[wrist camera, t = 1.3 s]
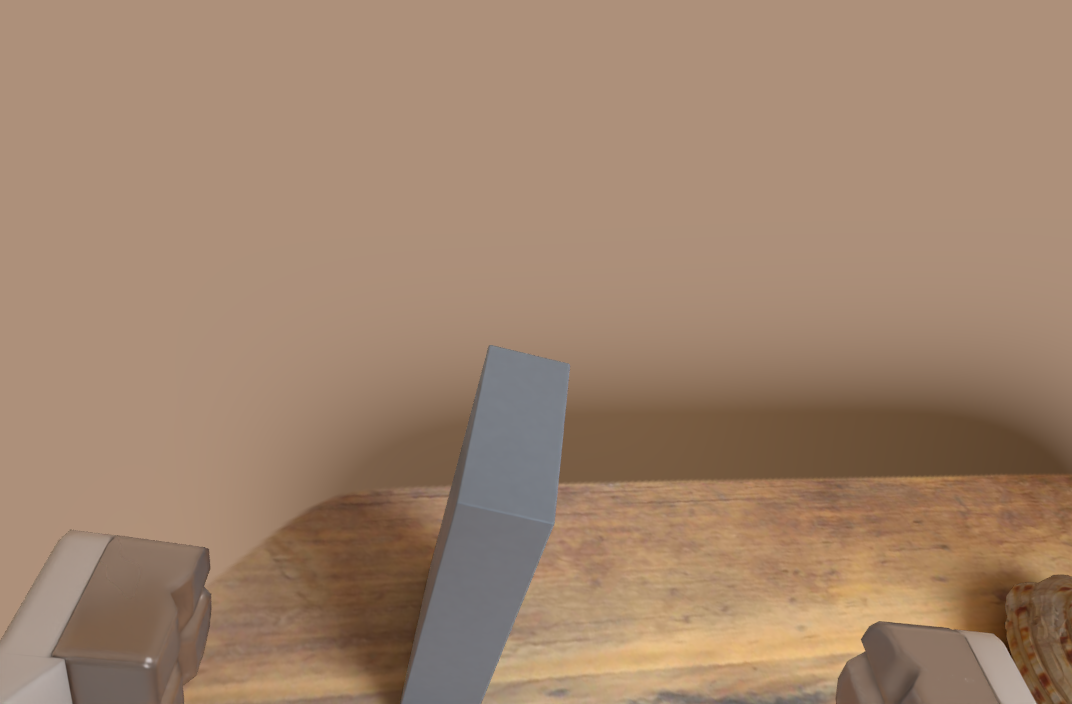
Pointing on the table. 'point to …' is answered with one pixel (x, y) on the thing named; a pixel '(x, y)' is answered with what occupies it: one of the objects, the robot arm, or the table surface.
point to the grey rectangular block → (490, 528)
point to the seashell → (1042, 637)
